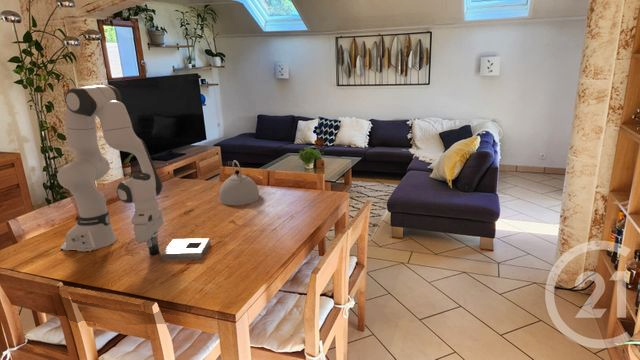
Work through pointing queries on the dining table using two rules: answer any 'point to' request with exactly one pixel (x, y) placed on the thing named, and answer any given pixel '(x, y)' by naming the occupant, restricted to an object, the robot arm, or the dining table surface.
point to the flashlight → (154, 245)
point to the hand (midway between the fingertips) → (152, 243)
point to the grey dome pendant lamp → (238, 189)
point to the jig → (186, 249)
